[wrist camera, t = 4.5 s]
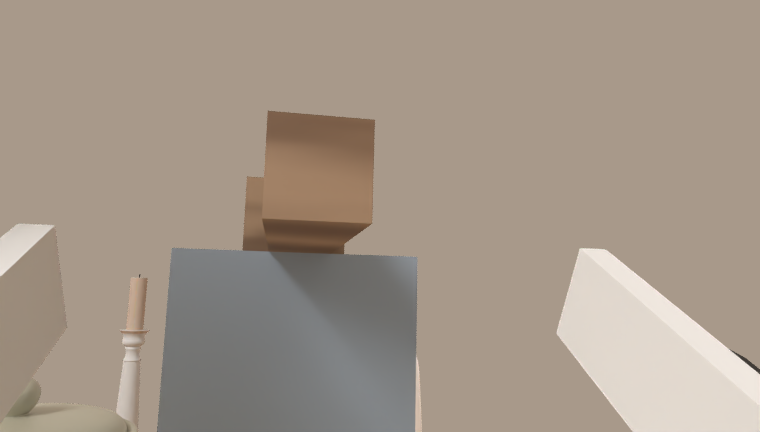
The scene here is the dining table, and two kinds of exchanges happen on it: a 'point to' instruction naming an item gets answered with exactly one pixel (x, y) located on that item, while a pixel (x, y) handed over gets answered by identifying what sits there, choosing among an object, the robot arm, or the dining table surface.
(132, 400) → the candlestick
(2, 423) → the canister
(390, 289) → the gray stand
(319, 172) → the walnut mallet
